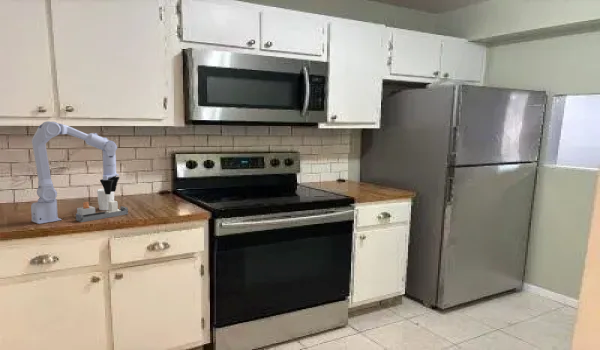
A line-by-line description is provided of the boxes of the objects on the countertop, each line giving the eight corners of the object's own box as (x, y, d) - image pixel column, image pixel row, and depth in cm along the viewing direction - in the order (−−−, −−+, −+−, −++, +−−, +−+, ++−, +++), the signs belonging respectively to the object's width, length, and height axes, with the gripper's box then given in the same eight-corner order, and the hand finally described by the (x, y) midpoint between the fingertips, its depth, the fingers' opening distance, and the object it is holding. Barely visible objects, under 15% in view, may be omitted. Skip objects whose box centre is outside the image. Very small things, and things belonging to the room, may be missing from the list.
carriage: (108, 214, 189) (108, 202, 188) (105, 213, 191) (104, 202, 190) (121, 212, 194) (120, 201, 193) (117, 211, 196) (117, 200, 195)
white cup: (96, 210, 201) (95, 191, 200) (99, 207, 209) (98, 188, 208) (113, 210, 203) (112, 190, 202) (116, 207, 211) (115, 188, 210)
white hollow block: (82, 218, 186) (82, 209, 186) (77, 216, 189) (77, 208, 188) (95, 215, 191) (95, 207, 190) (90, 214, 194) (90, 206, 193)
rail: (81, 222, 178) (80, 215, 178) (76, 220, 181) (75, 213, 181) (128, 214, 196) (127, 207, 195) (122, 212, 199) (122, 206, 198)
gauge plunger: (84, 212, 188) (84, 203, 187) (82, 211, 189) (82, 202, 189) (90, 211, 190) (89, 202, 189) (87, 210, 191) (87, 201, 191)
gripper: (113, 166, 188) (114, 195, 190) (122, 163, 202) (123, 190, 204) (97, 166, 187) (98, 195, 189) (107, 163, 201) (108, 190, 203)
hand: (110, 192), depth 196 cm, fingers open, 7 cm apart
